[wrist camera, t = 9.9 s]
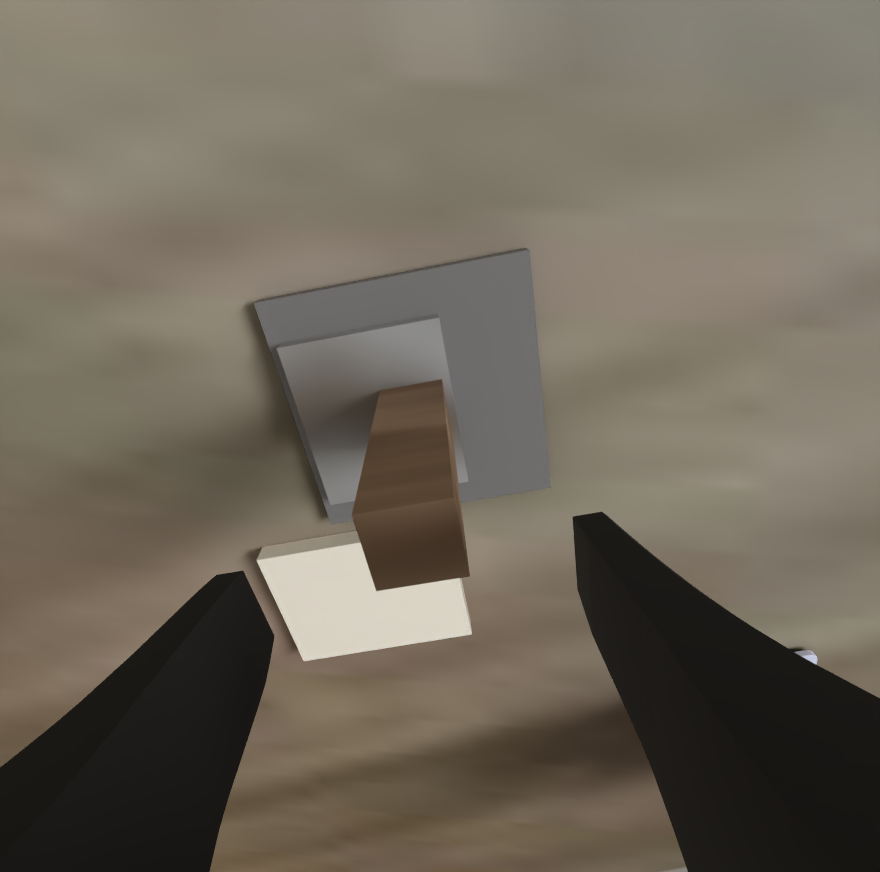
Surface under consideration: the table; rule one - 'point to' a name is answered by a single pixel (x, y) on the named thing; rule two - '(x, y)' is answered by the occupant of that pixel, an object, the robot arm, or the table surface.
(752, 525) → the table surface
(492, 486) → the mat
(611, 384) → the table surface
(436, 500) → the turner
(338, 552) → the tile
